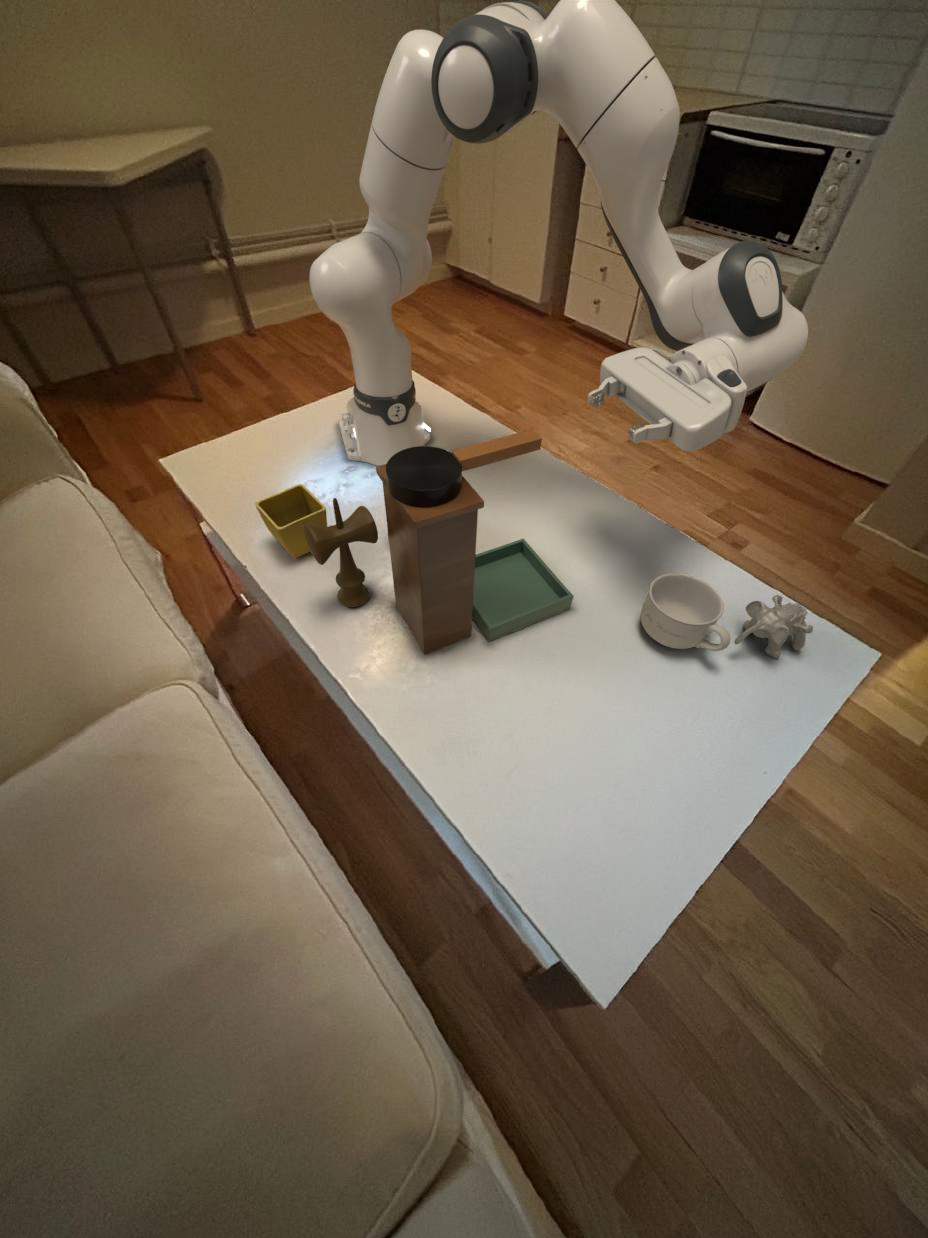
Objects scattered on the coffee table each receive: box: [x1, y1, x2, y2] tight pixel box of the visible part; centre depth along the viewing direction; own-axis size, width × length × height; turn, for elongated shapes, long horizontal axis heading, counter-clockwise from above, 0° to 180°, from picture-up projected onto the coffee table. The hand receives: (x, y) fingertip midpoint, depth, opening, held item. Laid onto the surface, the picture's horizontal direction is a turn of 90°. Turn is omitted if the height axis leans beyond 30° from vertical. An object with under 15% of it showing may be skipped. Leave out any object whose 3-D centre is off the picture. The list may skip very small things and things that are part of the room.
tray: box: [472, 538, 574, 642], centre depth 89 cm, size 15×15×3 cm
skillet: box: [386, 428, 543, 507], centre depth 66 cm, size 9×20×3 cm, turn 117°
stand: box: [375, 464, 485, 655], centre depth 76 cm, size 12×9×26 cm
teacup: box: [640, 572, 731, 652], centre depth 81 cm, size 14×11×8 cm
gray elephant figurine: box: [733, 594, 814, 659], centre depth 81 cm, size 9×12×8 cm
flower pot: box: [254, 483, 328, 559], centre depth 92 cm, size 9×9×9 cm
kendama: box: [303, 497, 379, 608], centre depth 81 cm, size 6×10×20 cm, turn 122°
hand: (610, 418), depth 72 cm, fingers open, 8 cm apart
